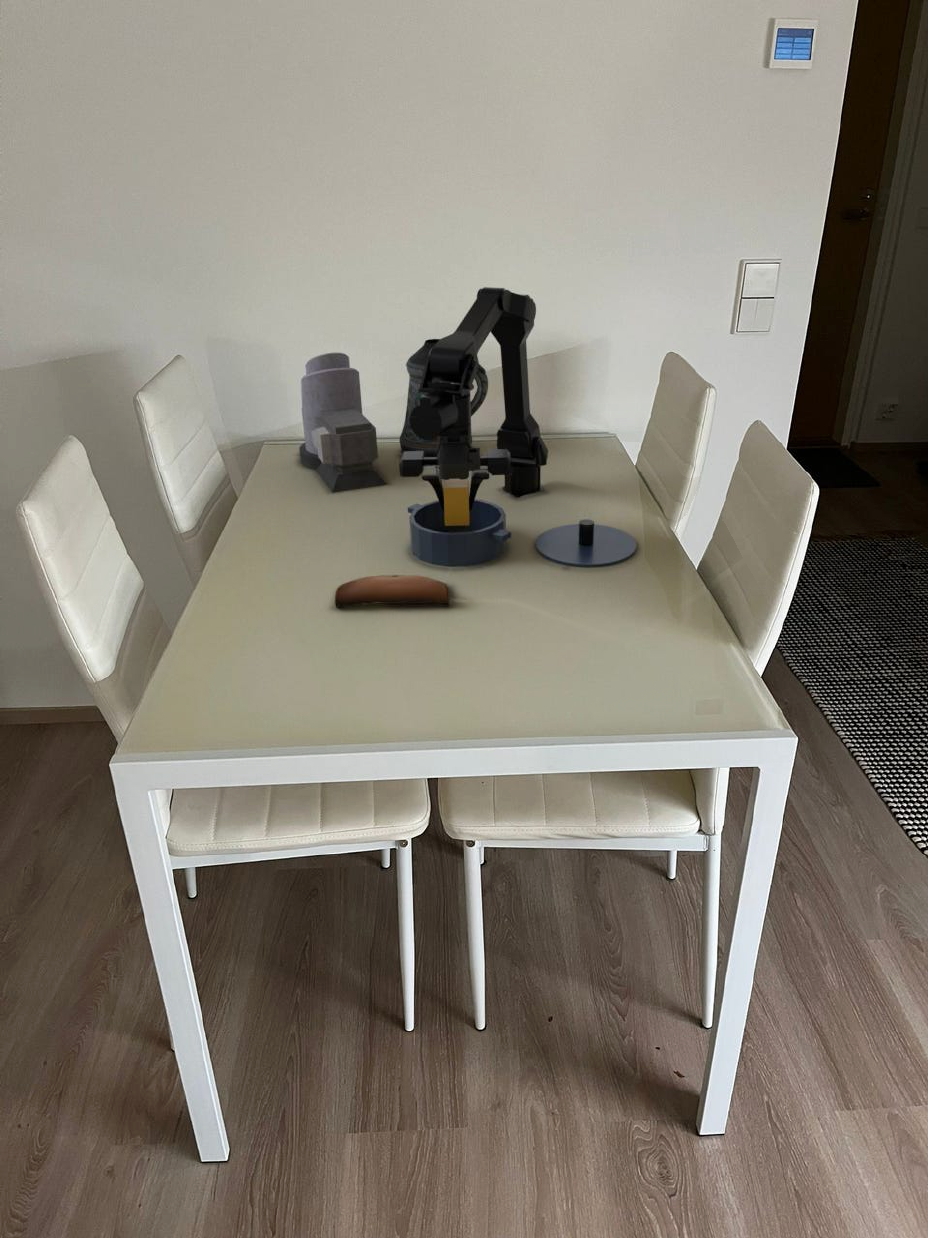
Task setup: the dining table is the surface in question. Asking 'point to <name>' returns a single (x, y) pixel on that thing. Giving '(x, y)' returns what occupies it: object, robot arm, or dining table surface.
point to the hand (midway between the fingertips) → (456, 510)
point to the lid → (586, 545)
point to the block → (456, 502)
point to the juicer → (337, 425)
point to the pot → (458, 535)
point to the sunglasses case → (391, 590)
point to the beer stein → (415, 370)
